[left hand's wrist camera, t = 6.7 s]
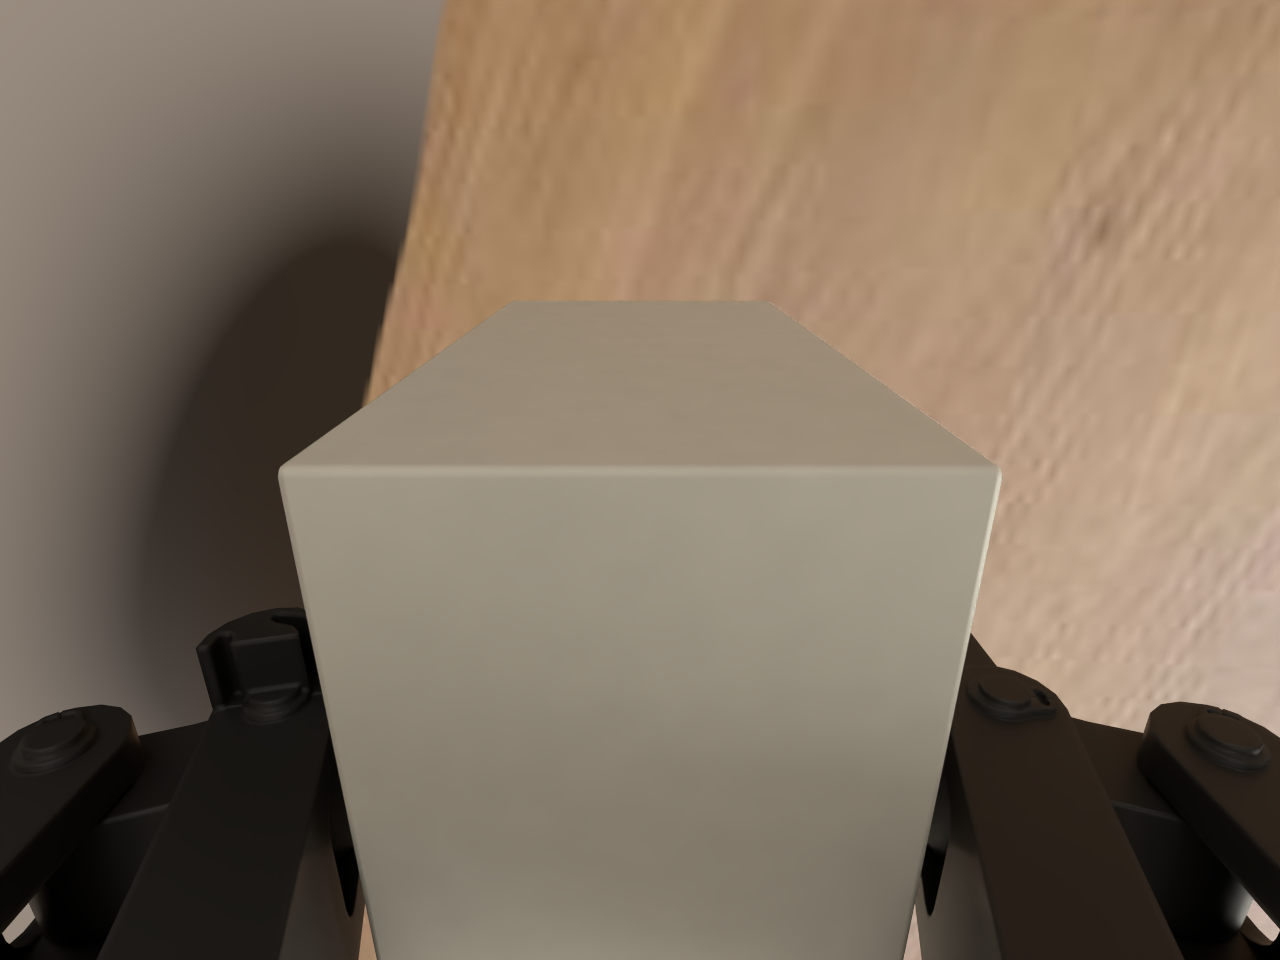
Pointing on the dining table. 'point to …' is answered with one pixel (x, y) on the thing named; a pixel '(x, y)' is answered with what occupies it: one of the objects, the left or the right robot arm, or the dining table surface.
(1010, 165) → the dining table surface
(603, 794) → the bar
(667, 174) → the dining table surface
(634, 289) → the dining table surface
